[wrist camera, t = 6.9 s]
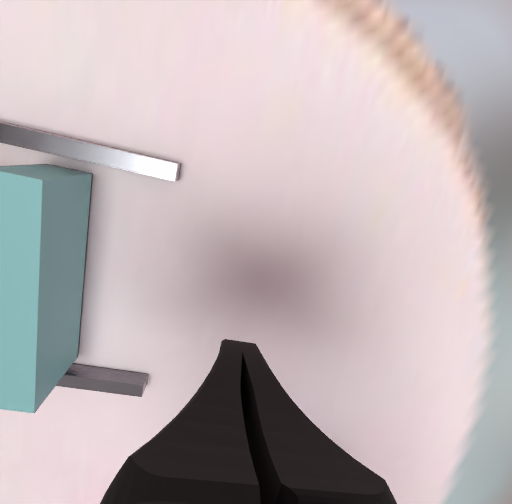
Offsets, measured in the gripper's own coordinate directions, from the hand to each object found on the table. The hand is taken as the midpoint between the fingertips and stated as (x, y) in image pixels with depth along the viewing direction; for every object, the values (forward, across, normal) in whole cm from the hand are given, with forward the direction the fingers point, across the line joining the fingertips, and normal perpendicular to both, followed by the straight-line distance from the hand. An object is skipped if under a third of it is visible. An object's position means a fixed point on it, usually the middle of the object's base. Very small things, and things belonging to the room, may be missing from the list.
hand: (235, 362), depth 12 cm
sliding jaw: (+9, +11, +2) cm, 14 cm away
